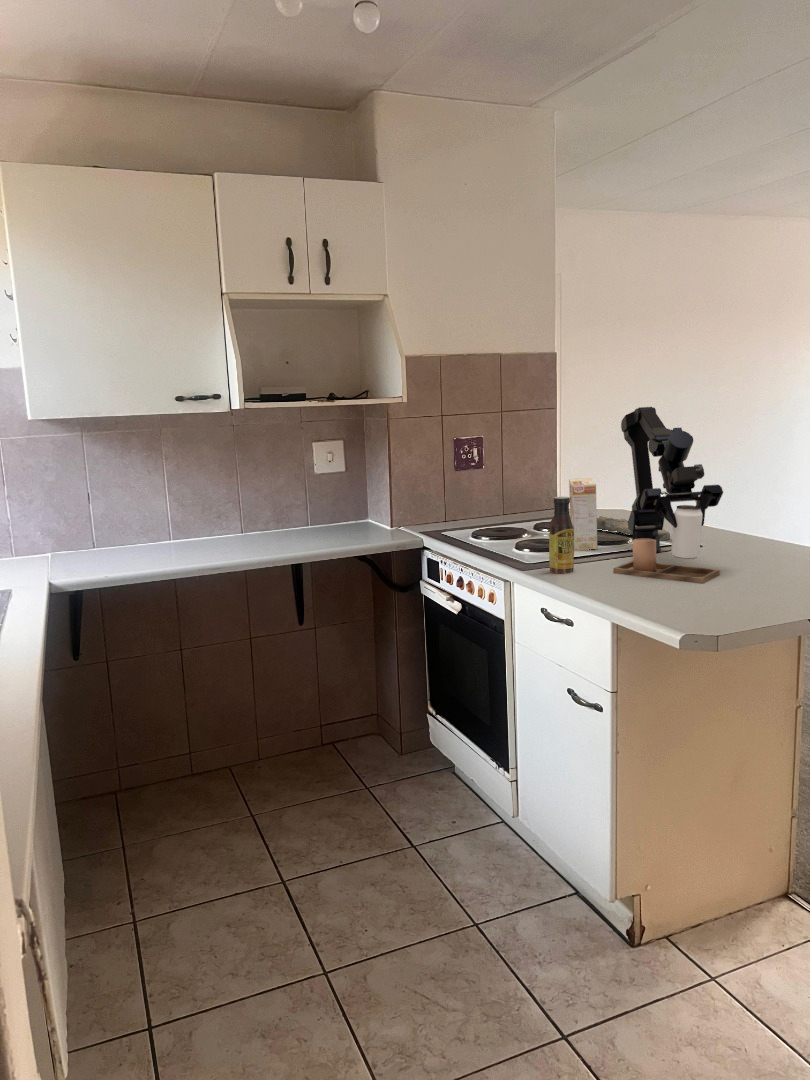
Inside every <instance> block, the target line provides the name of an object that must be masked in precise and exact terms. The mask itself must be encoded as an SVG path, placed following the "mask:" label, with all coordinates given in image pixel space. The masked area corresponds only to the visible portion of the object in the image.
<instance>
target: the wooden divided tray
mask: <svg viewBox="0 0 810 1080" xmlns="http://www.w3.org/2000/svg"><path fill="white" fill-rule="evenodd" d="M612 571H613V573H612V574H617V575H626V576H634V577H640V578H650V579H660V580H666V581H668V580H670V581H677V582H685V583H694V584H701V585H702V584H705V583H707V582H709V581H711V580H713V579H715V578H717V577H719V576H721V570H720V569H716V568H715V569H714V568H703V567H697V566H696V567H695V566H686V565H678V564H677V565H676V564H668V563H666V564H665V563H657V562H656V572H648V571H639V570H633V560H631V561H628V562H626V563H623V564H622V565H621V564H620V565H618V566H616V567H613V570H612Z"/></svg>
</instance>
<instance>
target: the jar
mask: <svg viewBox="0 0 810 1080" xmlns="http://www.w3.org/2000/svg"><path fill="white" fill-rule="evenodd" d="M632 549H633V552H632V561H633V570H639V571H648V572H656V563H657V552H656V540H655V539H650V538H639V539H634V540H633V539H632Z"/></svg>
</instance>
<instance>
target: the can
mask: <svg viewBox="0 0 810 1080" xmlns="http://www.w3.org/2000/svg"><path fill="white" fill-rule="evenodd" d="M674 515H675V518H676V521H677V527H676V528H674V527H673V526H672V535H671V549H670V550H671V552H670V554H671V556H672V557H674V558H677V559H684V560H694V559H697V558H698V557H699V556H700V551H701V550H700V549H701V541H702V540H701V539H702V528H703V526H702V512H701V507H698V506H696V505H691V504H690V505H689V504H681V505H676V509H675V511H674Z"/></svg>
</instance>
